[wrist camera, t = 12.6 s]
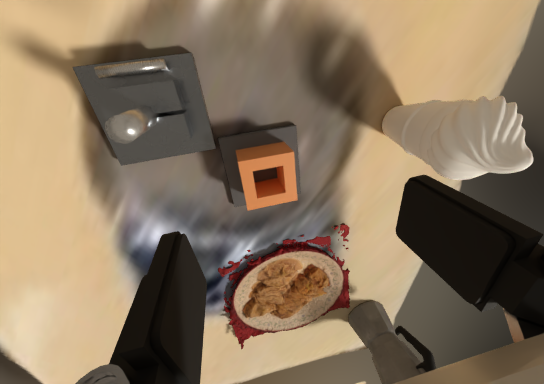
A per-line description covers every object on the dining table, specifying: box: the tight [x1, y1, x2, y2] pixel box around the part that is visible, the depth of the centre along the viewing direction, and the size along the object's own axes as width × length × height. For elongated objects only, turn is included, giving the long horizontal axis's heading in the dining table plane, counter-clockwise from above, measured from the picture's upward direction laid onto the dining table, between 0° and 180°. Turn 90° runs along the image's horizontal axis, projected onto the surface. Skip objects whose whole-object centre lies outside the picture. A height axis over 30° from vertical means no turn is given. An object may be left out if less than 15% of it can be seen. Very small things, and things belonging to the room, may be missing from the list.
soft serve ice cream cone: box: [382, 96, 533, 180], centre depth 24 cm, size 8×8×16 cm
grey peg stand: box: [73, 53, 216, 165], centre depth 20 cm, size 11×10×10 cm
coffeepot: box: [349, 301, 436, 384], centre depth 45 cm, size 15×9×18 cm, turn 166°
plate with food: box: [217, 225, 350, 349], centre depth 42 cm, size 24×26×4 cm
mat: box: [218, 125, 301, 207], centre depth 30 cm, size 10×10×1 cm
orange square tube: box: [236, 142, 297, 210], centre depth 28 cm, size 6×6×4 cm
